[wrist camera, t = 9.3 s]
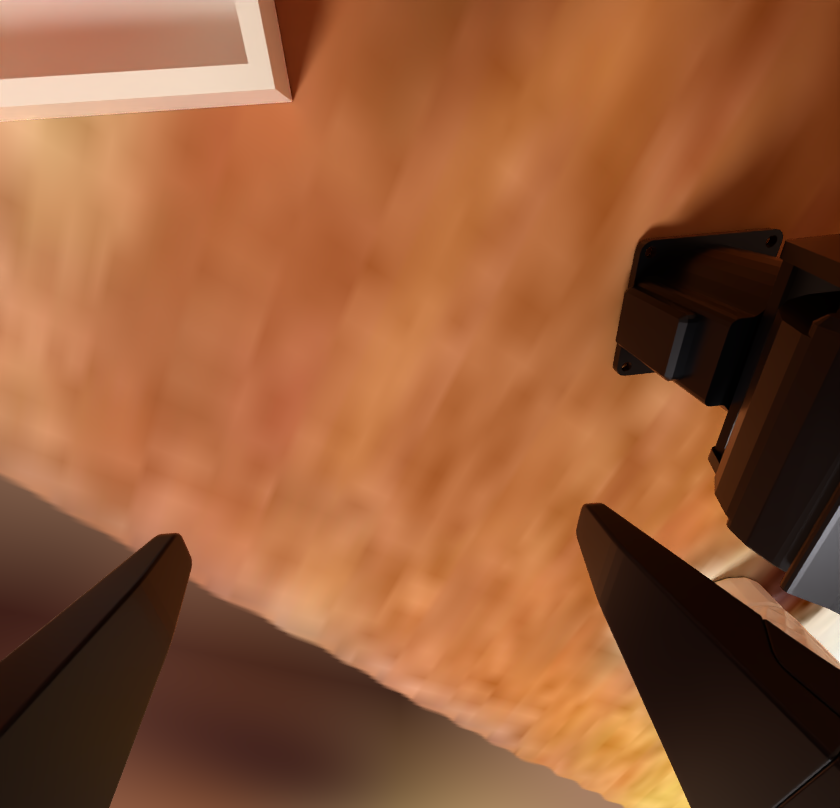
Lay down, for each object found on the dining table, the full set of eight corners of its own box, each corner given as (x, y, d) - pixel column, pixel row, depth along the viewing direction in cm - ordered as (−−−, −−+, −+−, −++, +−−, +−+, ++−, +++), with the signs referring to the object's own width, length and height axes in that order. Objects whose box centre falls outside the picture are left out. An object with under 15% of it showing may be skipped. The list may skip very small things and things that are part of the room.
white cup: (741, 557, 31) (882, 709, 22) (781, 594, 34) (918, 739, 26) (652, 610, 33) (748, 765, 25) (697, 640, 37) (796, 786, 28)
